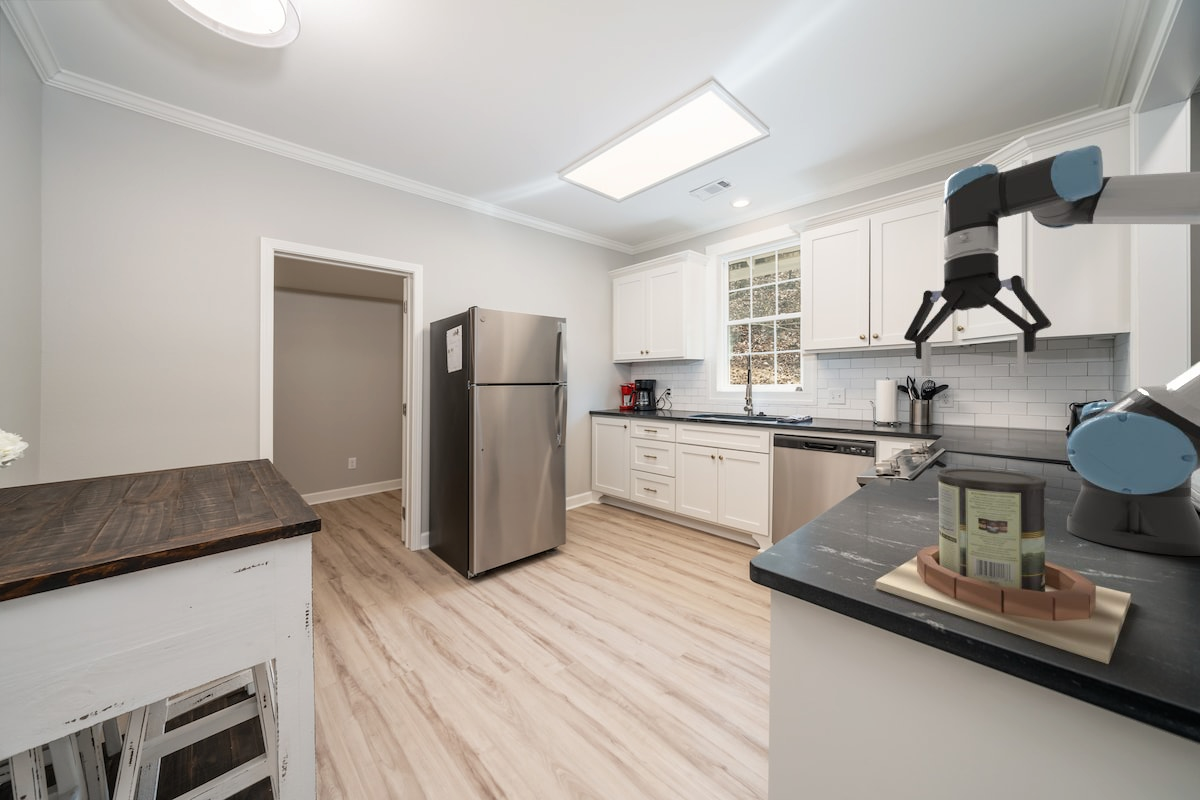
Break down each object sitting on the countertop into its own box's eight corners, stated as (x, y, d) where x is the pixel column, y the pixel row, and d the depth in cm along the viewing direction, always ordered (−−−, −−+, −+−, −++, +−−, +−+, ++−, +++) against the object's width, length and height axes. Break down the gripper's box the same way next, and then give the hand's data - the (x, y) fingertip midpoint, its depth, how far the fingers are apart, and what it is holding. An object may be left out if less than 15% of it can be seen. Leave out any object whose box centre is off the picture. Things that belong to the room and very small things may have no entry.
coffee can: (1006, 570, 59) (1006, 468, 59) (1071, 607, 49) (1071, 484, 49) (922, 565, 62) (921, 467, 61) (967, 600, 51) (966, 482, 51)
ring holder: (931, 553, 69) (931, 531, 69) (1130, 602, 52) (1130, 573, 52) (875, 588, 57) (875, 561, 57) (1108, 664, 41) (1108, 627, 41)
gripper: (885, 271, 87) (885, 376, 87) (1066, 232, 66) (1067, 370, 67) (899, 276, 91) (900, 377, 91) (1074, 241, 71) (1075, 370, 71)
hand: (971, 374), depth 79 cm, fingers open, 13 cm apart
